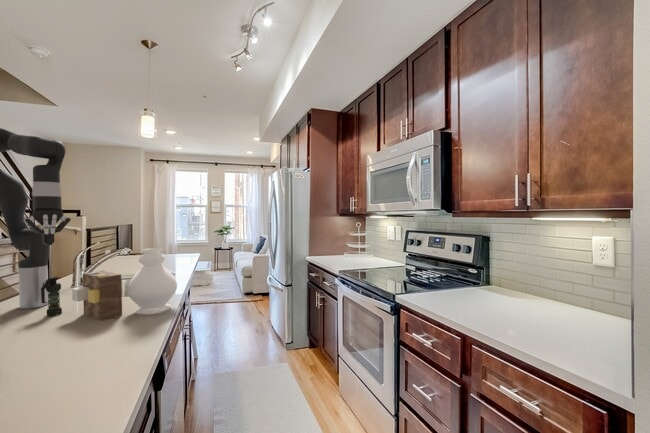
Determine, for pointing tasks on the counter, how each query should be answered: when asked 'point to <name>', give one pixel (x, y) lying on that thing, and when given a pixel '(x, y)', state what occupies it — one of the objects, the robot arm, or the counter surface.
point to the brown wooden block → (104, 295)
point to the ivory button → (80, 293)
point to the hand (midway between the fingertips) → (48, 244)
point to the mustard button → (94, 295)
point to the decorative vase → (152, 283)
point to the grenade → (52, 296)
